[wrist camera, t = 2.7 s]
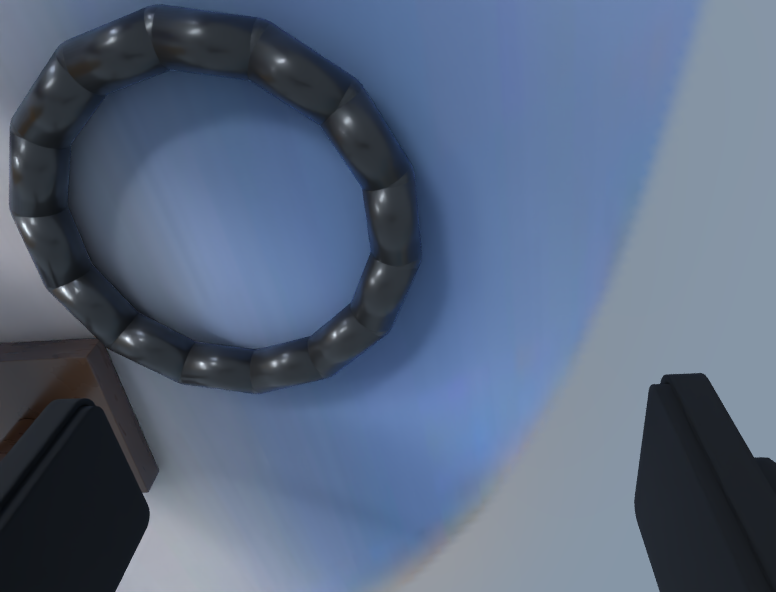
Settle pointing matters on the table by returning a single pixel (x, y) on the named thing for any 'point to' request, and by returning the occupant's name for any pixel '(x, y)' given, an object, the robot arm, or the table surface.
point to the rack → (68, 394)
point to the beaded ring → (232, 60)
